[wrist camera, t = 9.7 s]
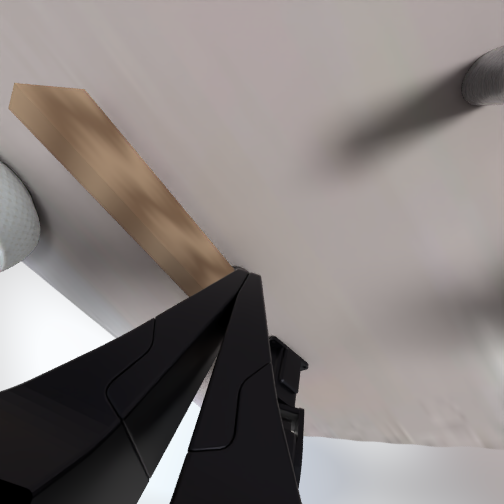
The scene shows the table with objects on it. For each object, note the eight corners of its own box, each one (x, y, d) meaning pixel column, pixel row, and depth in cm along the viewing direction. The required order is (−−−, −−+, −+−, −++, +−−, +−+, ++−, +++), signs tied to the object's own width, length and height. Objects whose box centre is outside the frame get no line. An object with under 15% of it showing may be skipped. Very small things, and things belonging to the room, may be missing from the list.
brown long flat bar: (259, 284, 23) (240, 330, 18) (238, 292, 24) (216, 337, 20) (98, 85, 17) (5, 75, 12) (84, 113, 18) (-3, 114, 13)
